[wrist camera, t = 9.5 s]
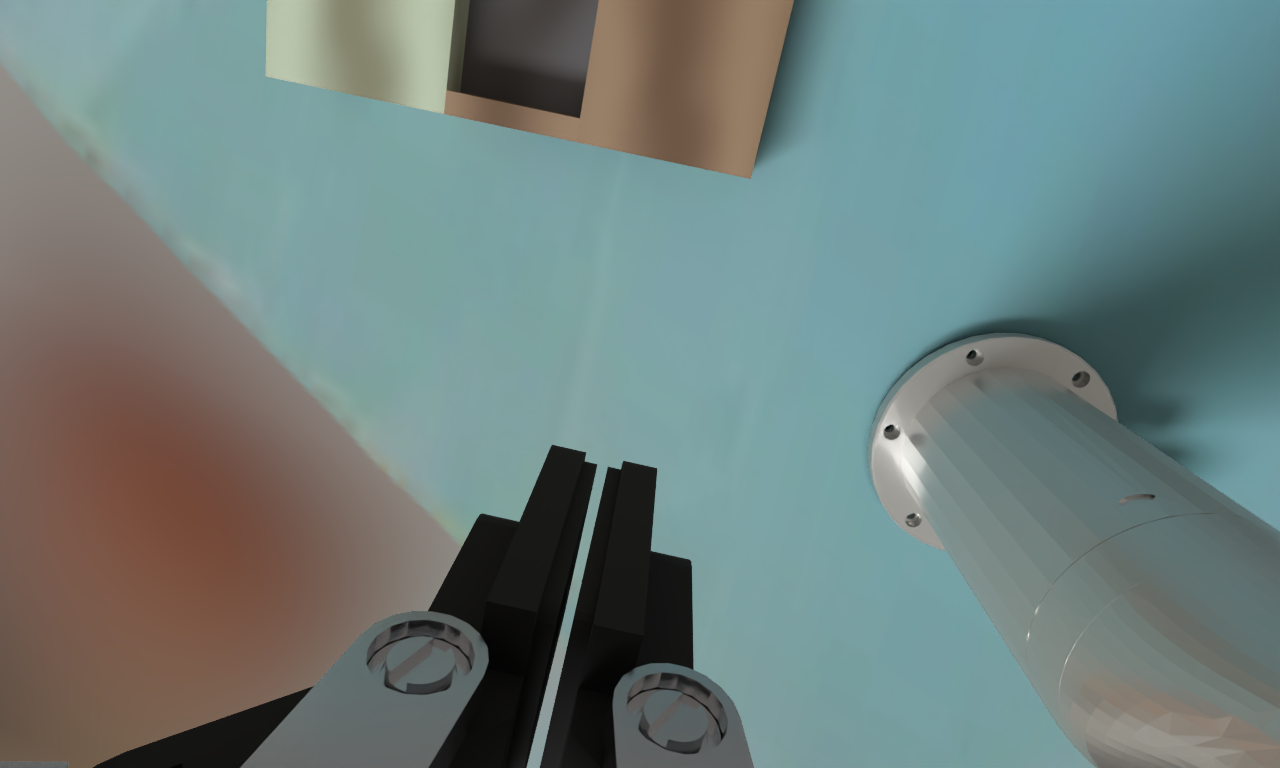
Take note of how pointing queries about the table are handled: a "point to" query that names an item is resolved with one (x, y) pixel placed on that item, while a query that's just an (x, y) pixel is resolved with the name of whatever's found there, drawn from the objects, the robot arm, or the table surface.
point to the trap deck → (554, 66)
